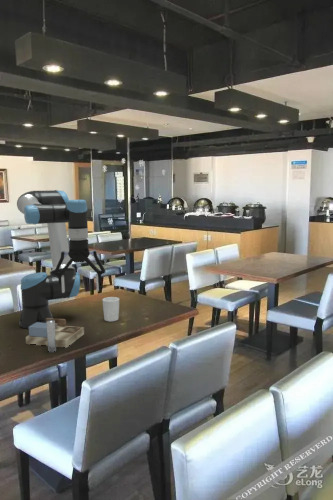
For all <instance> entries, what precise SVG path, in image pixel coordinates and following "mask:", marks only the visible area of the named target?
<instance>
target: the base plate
mask: <svg viewBox="0 0 333 500" xmlns="http://www.w3.org/2000/svg"><path fill="white" fill-rule="evenodd" d="M48 320H55V336H56V348H63V347H65V349H66V348H68V347H70V346H71V345H72V344H73V343H75V342H76V341H77V340H78V339H80V338H81V337H82V336H83V335H85V327H84V326H73V325H71V326H70V325H67V319H65V318H54V317H53V318H46V323H47V321H48ZM25 344H26V345H30V344H36V345H35V346H41V345H46V346H45V347H48V339H47V337H37V336H29V334H28V335H27V336H25ZM69 345H70V346H69Z"/></svg>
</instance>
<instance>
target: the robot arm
mask: <svg viewBox="0 0 333 500" xmlns="http://www.w3.org/2000/svg"><path fill="white" fill-rule="evenodd" d="M16 207H17V209H18V211H19V212H20V213H21V214H23V215H24V222H25V223H26V224H27V225H37V224H38V225H39V224H40V225H42V224H46V225H47V232H48V240H49V246H50V248H49V249H50V256H51V257H50V258H51V262H52V263H51V264H52V269H51V270H50V271H49V275H48V273H46V272H45V271H43V272H41V271H40V272H33V273H29V274H27V275H24V276H23V277H22V278H21V280H20V292H21V312H20V316H19V320H18V325H19V327H20V328H22V329H28V330H29V326H31V325H33V324H34V323H36V322H41V323H46V318H54V316H53V314H52V312H51V311H52V310H50V306H49V301H54V300H55V301H56V300H60V299H62V300H63V299H69V298H75V297H77V296H78V295H79V293H80V289H81V275H80V273H79V272H76V268H75V267H74V266H72V263H73V262H74V263H76V264H77V263H84V262H86V264H87V265H88V266H90V268H91V269H92V270H93V271H94V272H95V273H96V275H95V279H96V281H95V282H96V292H99V291H100V288H99V287H100V286H99V285H100V284H101V283H102V275H103V274H106V269H105V267H104V265H103V264H102V262H101V259H100V258H99V256H98V252H97V250H96V249H94V250H91V251H90V250H89V240H88V238H89V231H88V229H89V228H88V203H87V201H86V200H85V199H69V197H68V194H67V192H65V191H64V190H57V189H54V190H30V191H27V192H25V193H23V194H21V195H20V196H19V197H18V198H17V200H16ZM66 223H67V224H68V225H67V226H68V227H67V226H66ZM67 229H68V232H67ZM67 233H68V235H67ZM68 239H69V240H68ZM90 256H91V257H93V258H94V260H95V262H96V264H97V265H98V267H97V265H95V264H94V263H93V262H92V261H91V259H90V258H89V257H90ZM99 283H100V284H99Z"/></svg>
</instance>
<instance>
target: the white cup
mask: <svg viewBox="0 0 333 500" xmlns="http://www.w3.org/2000/svg"><path fill="white" fill-rule="evenodd" d="M102 310H103V319H104V321H106V322H117V321H118V320H119V313H120V297H116V296H109V297H104V298H102Z"/></svg>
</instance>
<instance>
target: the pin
mask: <svg viewBox="0 0 333 500" xmlns="http://www.w3.org/2000/svg"><path fill="white" fill-rule="evenodd" d="M47 339H48V346H47V350H48V351H49V352H48V353H55V352H56V351H57V347H56V336H55V320H48V321H47ZM54 351H55V352H54Z"/></svg>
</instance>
